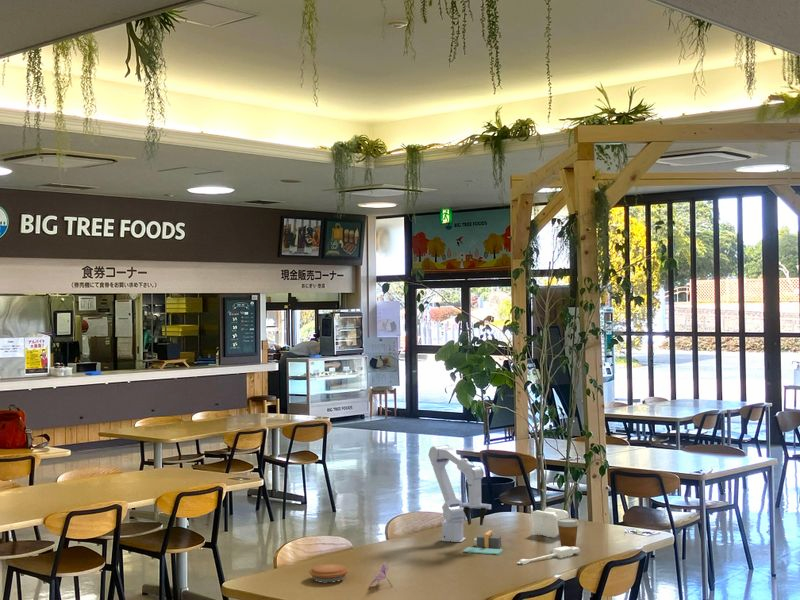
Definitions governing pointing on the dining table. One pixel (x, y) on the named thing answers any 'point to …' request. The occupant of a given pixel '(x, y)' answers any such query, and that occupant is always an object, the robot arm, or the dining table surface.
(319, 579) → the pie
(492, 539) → the grey box
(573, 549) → the charging cable
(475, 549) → the mat
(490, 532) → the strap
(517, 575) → the dining table surface
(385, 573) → the lily
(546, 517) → the cable organizer
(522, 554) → the dining table surface
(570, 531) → the disposable coffee cup
